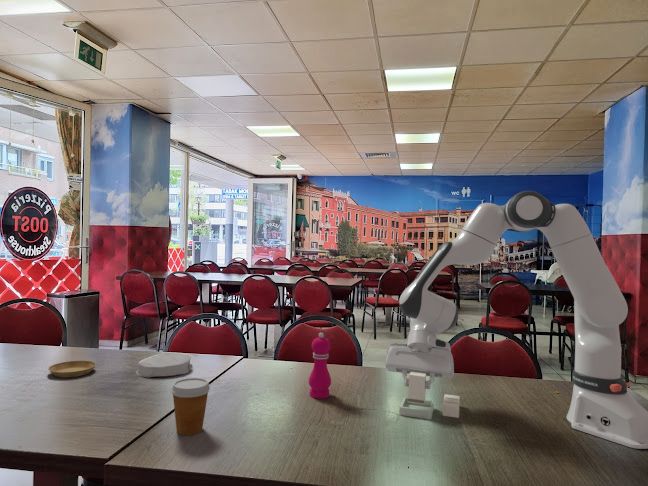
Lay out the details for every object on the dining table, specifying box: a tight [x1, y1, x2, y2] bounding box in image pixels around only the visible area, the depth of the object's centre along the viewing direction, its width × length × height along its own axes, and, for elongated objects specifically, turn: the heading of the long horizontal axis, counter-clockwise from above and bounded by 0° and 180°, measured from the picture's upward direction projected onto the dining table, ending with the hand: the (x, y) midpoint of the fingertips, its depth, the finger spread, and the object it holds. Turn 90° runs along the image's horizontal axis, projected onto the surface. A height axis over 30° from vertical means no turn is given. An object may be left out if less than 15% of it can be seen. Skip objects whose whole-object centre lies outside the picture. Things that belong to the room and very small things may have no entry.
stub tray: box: [398, 396, 435, 420], centre depth 129 cm, size 9×9×2 cm
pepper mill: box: [308, 332, 332, 400], centre depth 140 cm, size 7×7×20 cm
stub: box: [408, 371, 427, 404], centre depth 129 cm, size 4×4×8 cm
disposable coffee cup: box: [170, 377, 211, 436], centre depth 112 cm, size 10×10×12 cm
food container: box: [135, 352, 194, 379], centre depth 162 cm, size 20×20×7 cm
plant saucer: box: [48, 360, 97, 378], centre depth 156 cm, size 15×15×3 cm
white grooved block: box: [442, 393, 461, 419], centre depth 130 cm, size 10×4×3 cm, turn 162°
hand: (417, 386), depth 128 cm, fingers closed on stub, 4 cm apart
